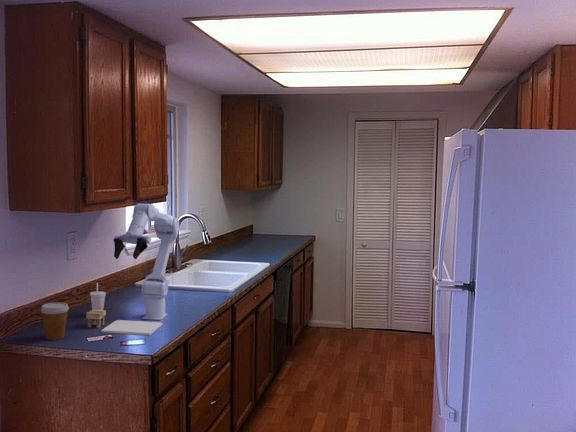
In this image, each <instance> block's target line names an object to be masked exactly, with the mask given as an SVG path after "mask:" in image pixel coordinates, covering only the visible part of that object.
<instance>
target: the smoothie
mask: <svg viewBox="0 0 576 432" xmlns="http://www.w3.org/2000/svg"><path fill="white" fill-rule="evenodd" d="M89 296H90V300H91V310H104V306H105V299H106V296H107V292H105V291H99V282H96V291H91V292H89Z"/></svg>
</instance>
